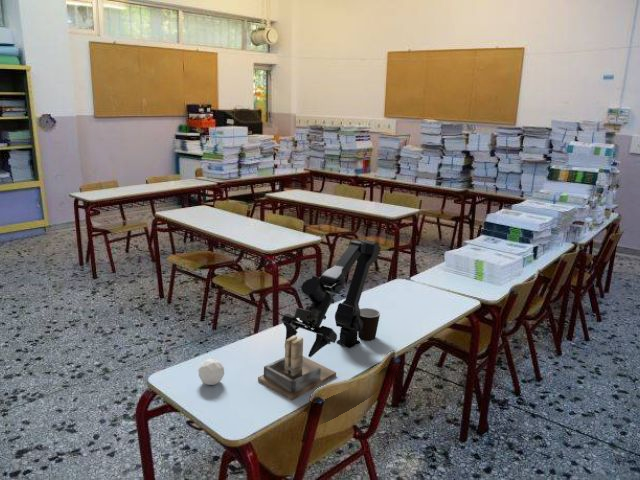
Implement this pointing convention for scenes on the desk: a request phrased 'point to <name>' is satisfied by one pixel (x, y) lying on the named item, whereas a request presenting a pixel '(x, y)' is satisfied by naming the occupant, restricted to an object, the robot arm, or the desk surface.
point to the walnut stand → (293, 388)
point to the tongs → (293, 357)
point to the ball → (211, 371)
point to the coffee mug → (368, 324)
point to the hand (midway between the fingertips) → (297, 352)
